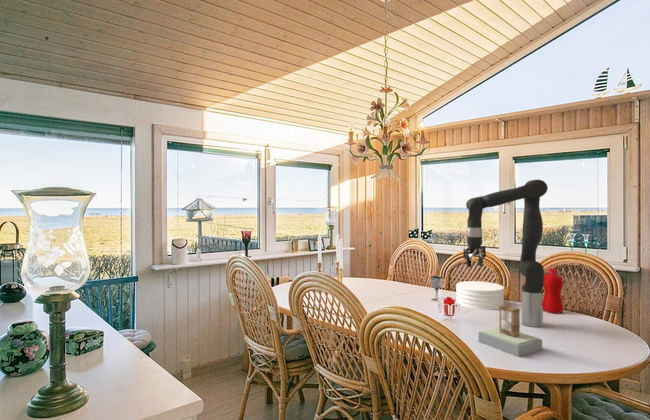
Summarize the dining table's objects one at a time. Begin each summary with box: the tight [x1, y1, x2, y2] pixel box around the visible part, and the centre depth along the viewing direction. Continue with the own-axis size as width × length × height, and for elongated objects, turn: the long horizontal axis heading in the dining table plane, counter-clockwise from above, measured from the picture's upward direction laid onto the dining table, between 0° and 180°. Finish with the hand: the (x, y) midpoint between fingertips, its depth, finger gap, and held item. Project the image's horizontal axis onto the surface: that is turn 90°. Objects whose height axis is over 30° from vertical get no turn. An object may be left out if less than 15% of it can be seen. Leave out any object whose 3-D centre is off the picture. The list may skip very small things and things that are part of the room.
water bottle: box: [542, 267, 564, 314], centre depth 226 cm, size 9×11×25 cm
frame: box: [499, 304, 521, 337], centre depth 173 cm, size 7×4×12 cm, turn 28°
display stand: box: [478, 326, 543, 357], centre depth 173 cm, size 20×16×5 cm
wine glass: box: [429, 275, 444, 302], centre depth 255 cm, size 8×8×15 cm
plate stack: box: [455, 280, 505, 311], centre depth 246 cm, size 28×28×12 cm
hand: (474, 266), depth 207 cm, fingers open, 8 cm apart
